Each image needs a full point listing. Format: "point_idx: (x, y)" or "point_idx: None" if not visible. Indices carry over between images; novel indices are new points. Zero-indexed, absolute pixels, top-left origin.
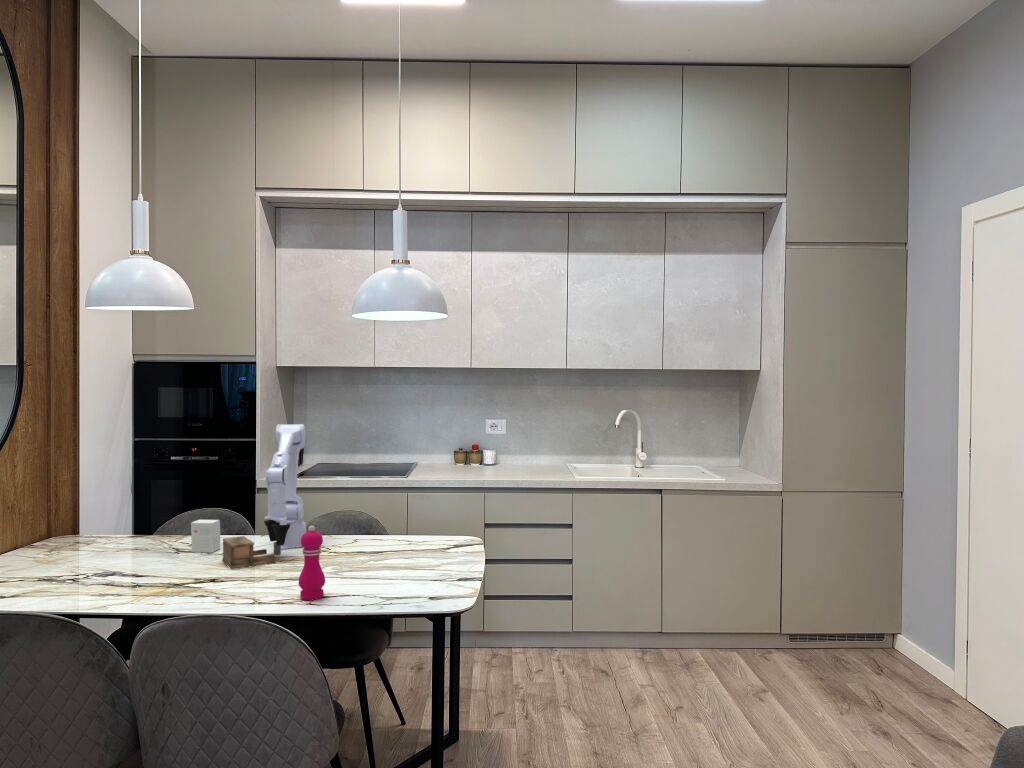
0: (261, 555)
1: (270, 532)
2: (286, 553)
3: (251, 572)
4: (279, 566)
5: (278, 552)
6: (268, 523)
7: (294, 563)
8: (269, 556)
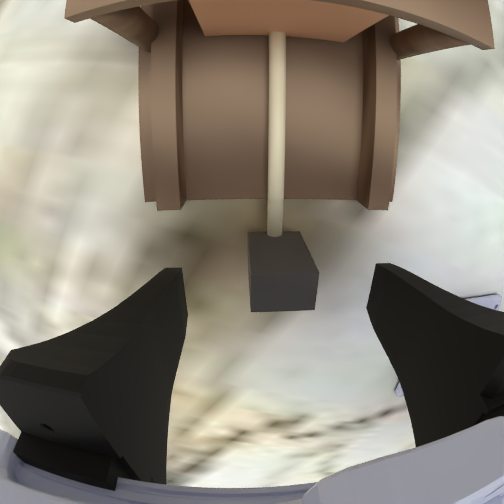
0: (269, 133)
1: (418, 307)
2: (352, 309)
3: (32, 43)
4: (70, 197)
5: (248, 257)
6: (484, 361)
7: (103, 282)
8: (156, 168)
